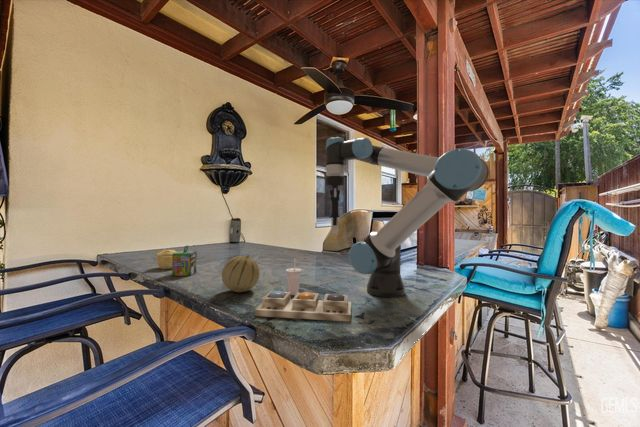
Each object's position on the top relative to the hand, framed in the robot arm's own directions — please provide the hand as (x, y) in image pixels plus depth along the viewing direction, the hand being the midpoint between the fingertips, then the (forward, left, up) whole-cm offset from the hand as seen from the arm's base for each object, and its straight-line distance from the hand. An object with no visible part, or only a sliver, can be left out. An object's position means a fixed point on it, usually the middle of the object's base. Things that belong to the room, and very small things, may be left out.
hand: (334, 233), depth 111 cm
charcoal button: (-2, +22, -21) cm, 31 cm away
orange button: (+8, +22, -21) cm, 32 cm away
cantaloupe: (+38, +6, -24) cm, 45 cm away
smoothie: (+16, +6, -24) cm, 30 cm away
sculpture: (+97, -30, -24) cm, 104 cm away
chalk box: (+79, -18, -24) cm, 85 cm away
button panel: (+8, +24, -24) cm, 35 cm away
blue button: (+18, +22, -21) cm, 36 cm away
